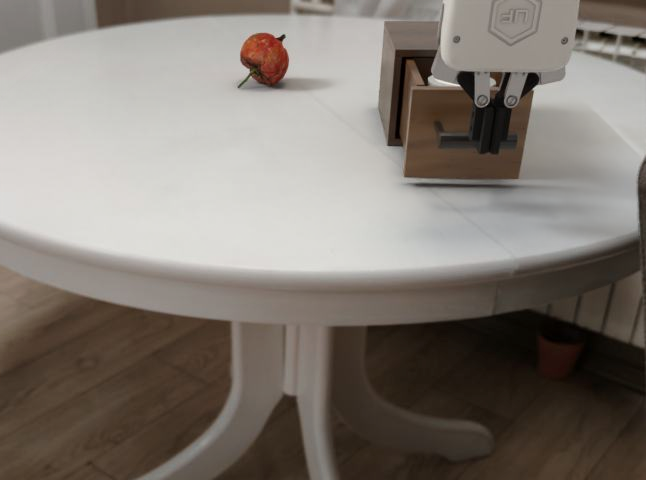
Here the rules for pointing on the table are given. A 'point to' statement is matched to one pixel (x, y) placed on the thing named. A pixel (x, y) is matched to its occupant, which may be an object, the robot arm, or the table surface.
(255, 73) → the pomegranate
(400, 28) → the cabinet
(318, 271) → the table surface
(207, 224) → the table surface
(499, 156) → the drawer
